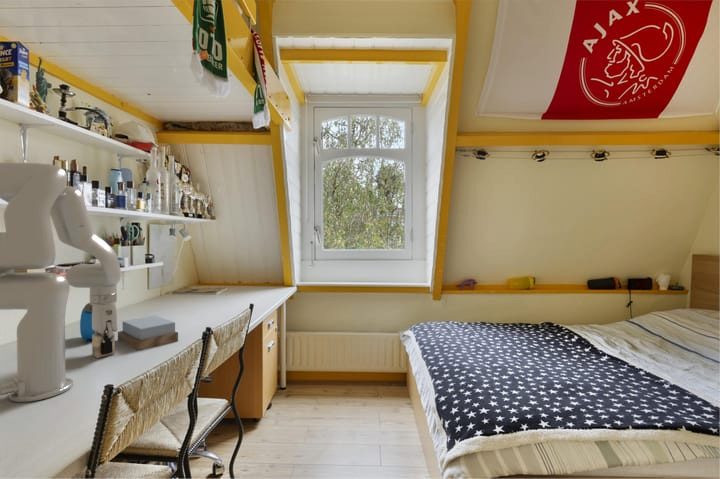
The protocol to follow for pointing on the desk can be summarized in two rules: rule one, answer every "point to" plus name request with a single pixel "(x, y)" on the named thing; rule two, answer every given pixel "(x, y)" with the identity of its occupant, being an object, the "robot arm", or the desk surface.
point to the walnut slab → (146, 340)
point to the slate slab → (148, 327)
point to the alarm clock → (86, 322)
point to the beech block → (97, 345)
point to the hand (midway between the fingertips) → (103, 351)
